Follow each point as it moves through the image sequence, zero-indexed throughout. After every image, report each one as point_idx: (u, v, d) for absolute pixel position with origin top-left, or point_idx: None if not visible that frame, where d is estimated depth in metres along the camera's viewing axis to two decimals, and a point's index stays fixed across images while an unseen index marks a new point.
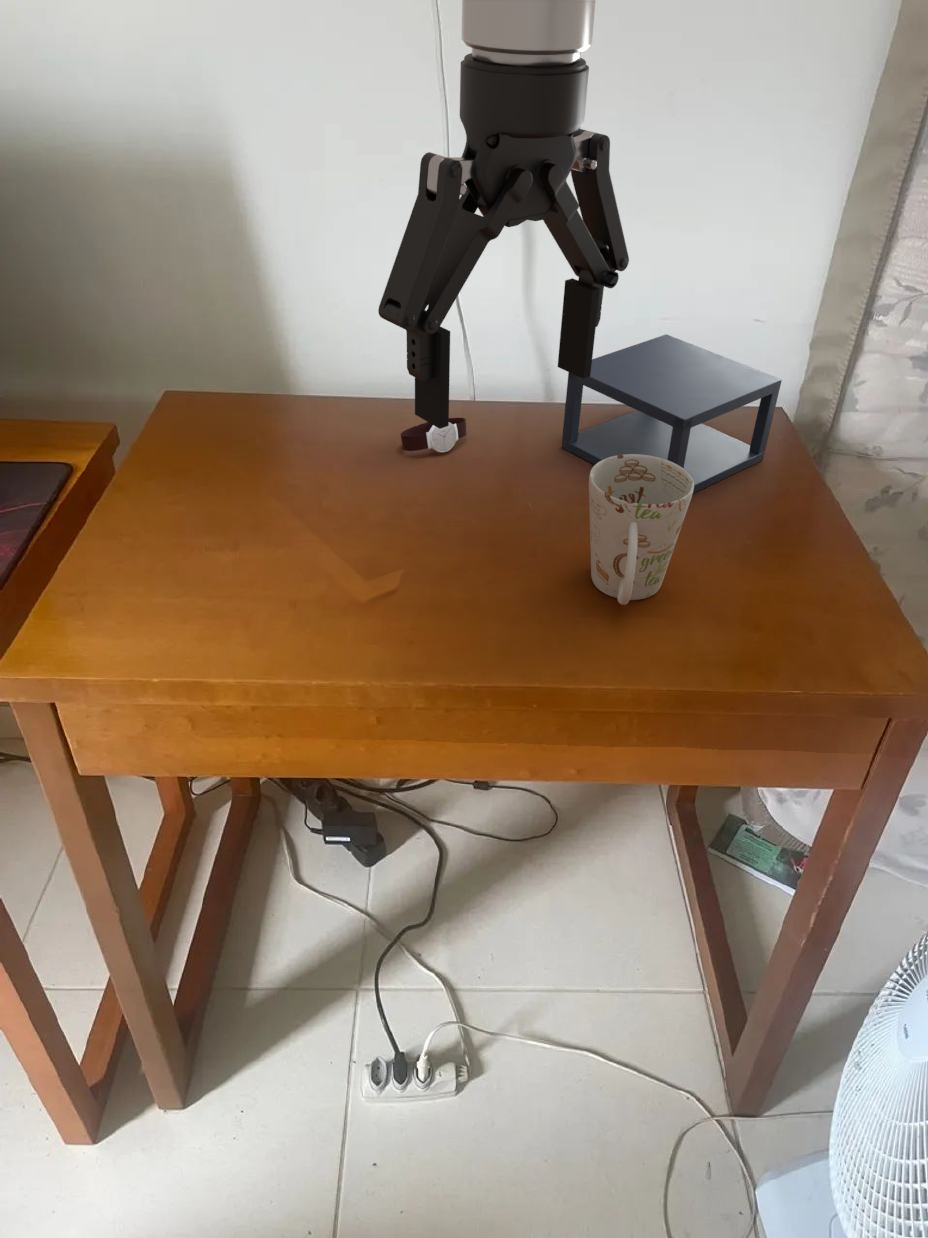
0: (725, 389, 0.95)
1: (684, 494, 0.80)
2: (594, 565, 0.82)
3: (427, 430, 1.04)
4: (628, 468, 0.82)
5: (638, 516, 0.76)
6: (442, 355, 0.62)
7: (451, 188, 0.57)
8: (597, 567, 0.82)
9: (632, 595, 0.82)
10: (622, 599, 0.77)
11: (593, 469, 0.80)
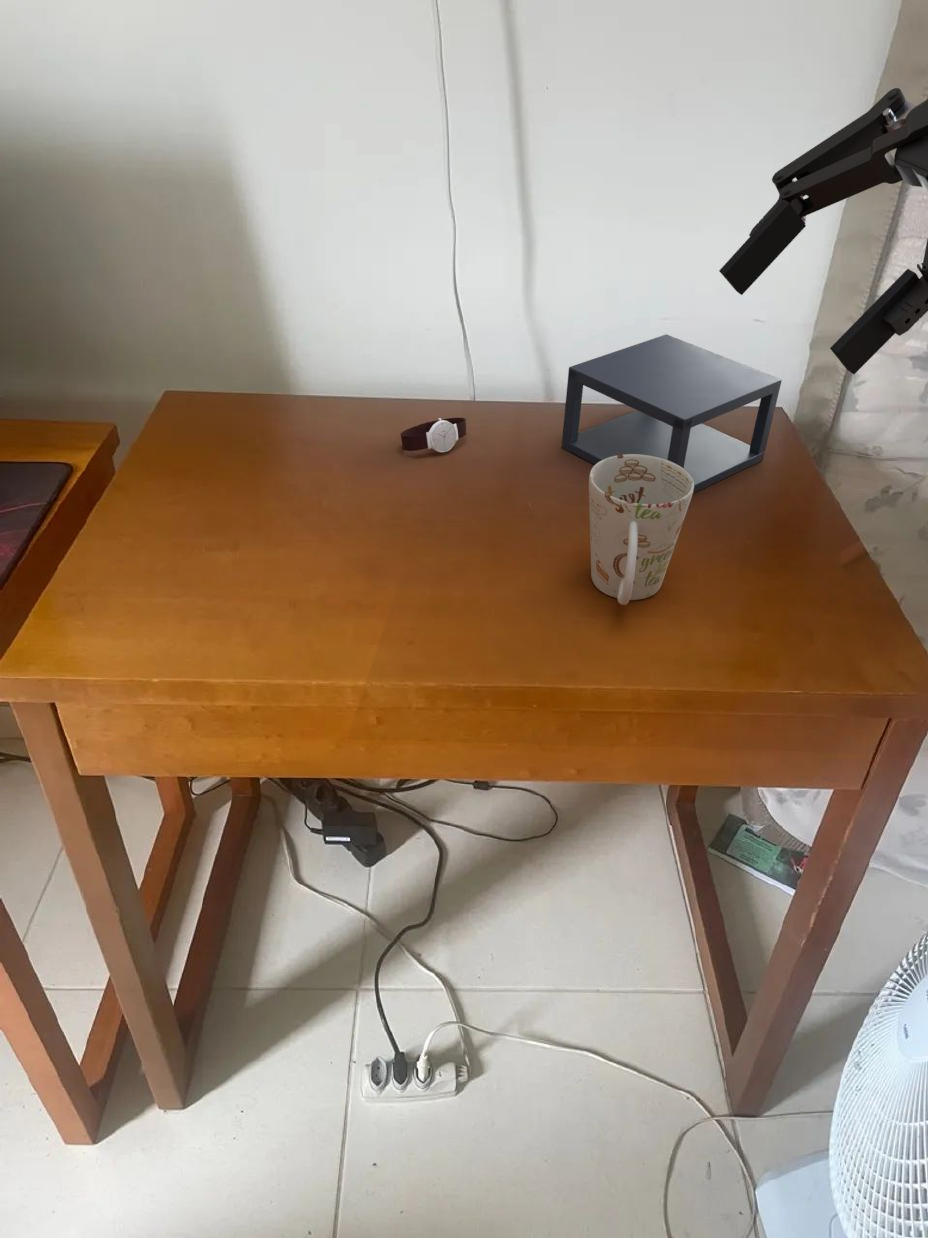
0: (725, 389, 0.95)
1: (684, 494, 0.80)
2: (594, 565, 0.82)
3: (427, 430, 1.04)
4: (628, 468, 0.82)
5: (638, 516, 0.76)
6: (770, 217, 0.72)
7: (880, 105, 0.69)
8: (597, 567, 0.82)
9: (632, 595, 0.82)
10: (622, 599, 0.77)
11: (593, 469, 0.80)
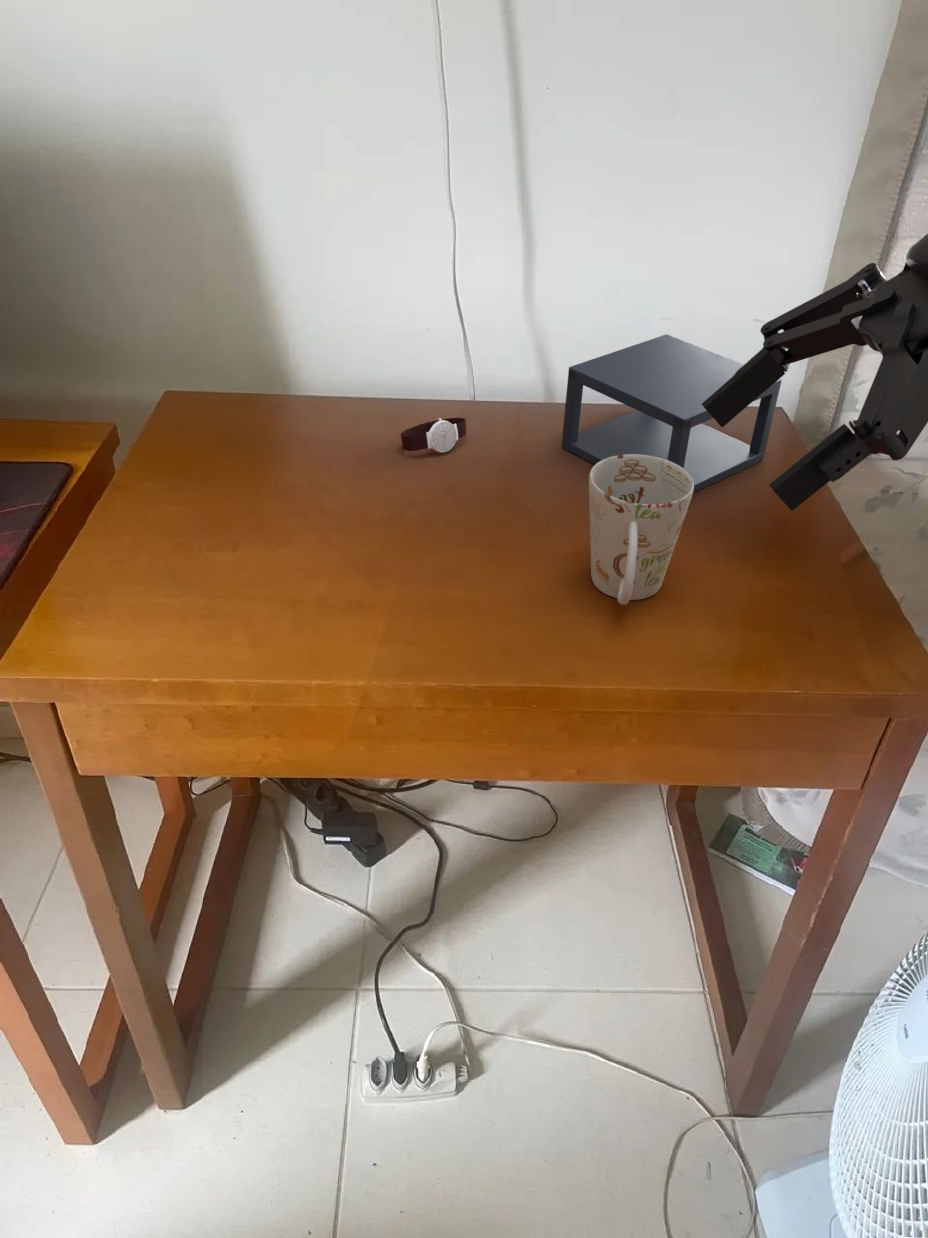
0: None
1: (684, 494, 0.80)
2: (594, 565, 0.82)
3: (427, 430, 1.04)
4: (628, 468, 0.82)
5: (638, 516, 0.76)
6: (751, 362, 0.80)
7: (857, 276, 0.76)
8: (597, 567, 0.82)
9: (632, 595, 0.82)
10: (622, 599, 0.77)
11: (593, 469, 0.80)
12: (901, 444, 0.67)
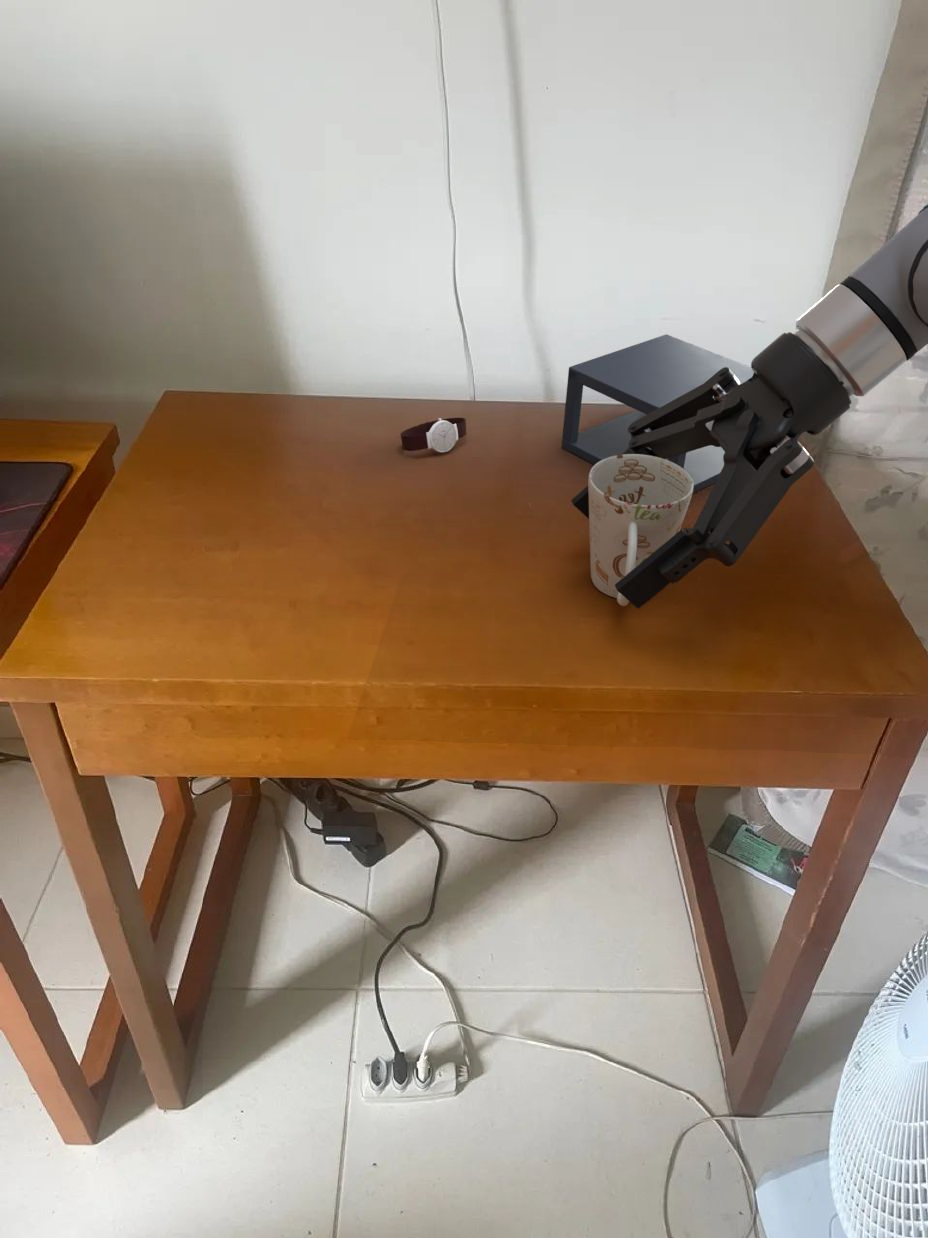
0: None
1: (684, 494, 0.80)
2: (594, 565, 0.82)
3: (427, 430, 1.04)
4: (628, 468, 0.82)
5: (638, 517, 0.76)
6: None
7: (712, 380, 0.79)
8: (597, 567, 0.82)
9: None
10: (622, 600, 0.77)
11: (592, 469, 0.80)
12: (730, 553, 0.70)
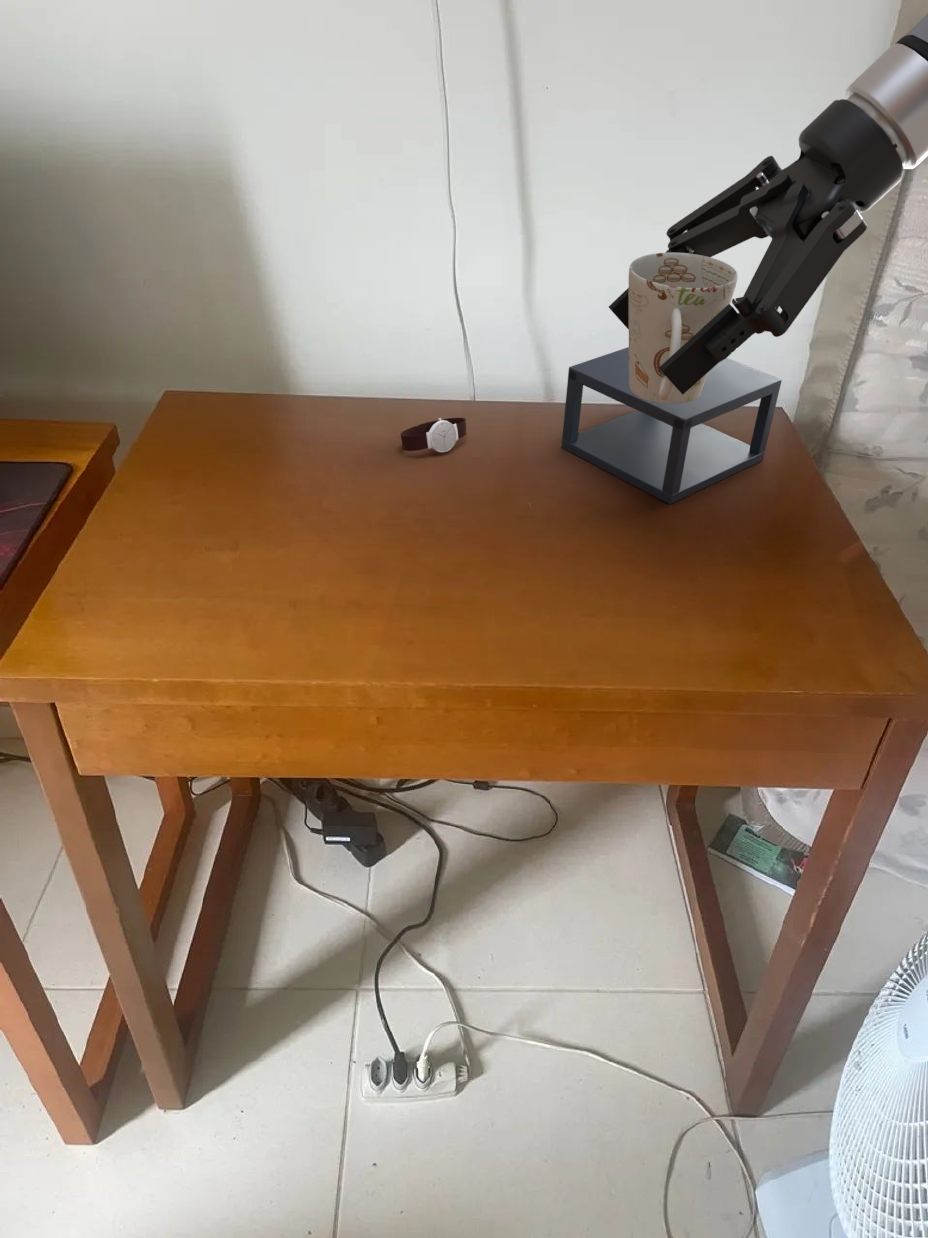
0: (725, 389, 0.95)
1: None
2: (633, 369, 0.80)
3: (427, 430, 1.04)
4: (667, 268, 0.80)
5: (681, 302, 0.74)
6: None
7: (756, 170, 0.77)
8: (636, 370, 0.80)
9: (672, 398, 0.80)
10: (665, 389, 0.74)
11: (633, 263, 0.77)
12: (781, 320, 0.68)
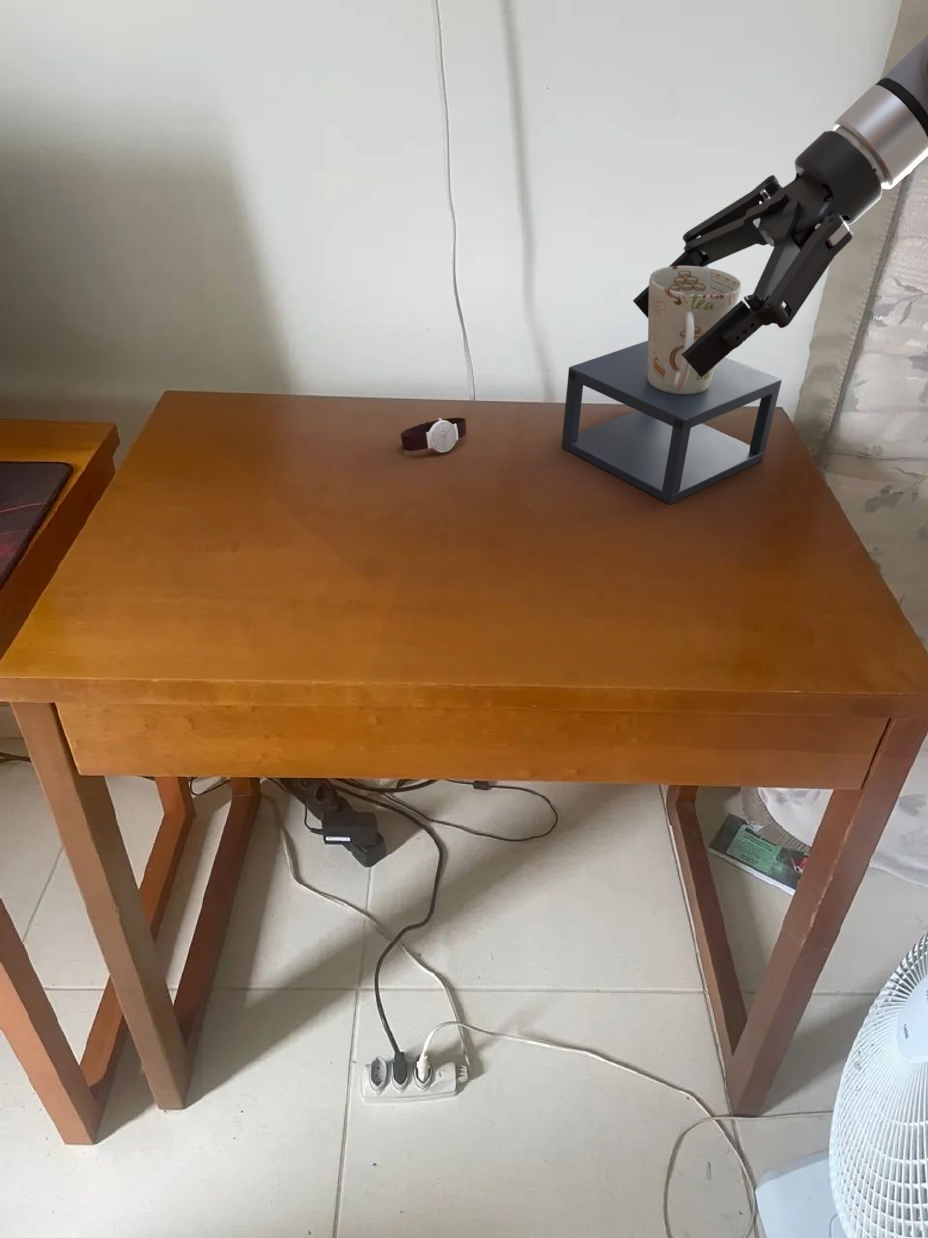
0: (725, 389, 0.95)
1: None
2: (651, 364, 0.94)
3: (427, 430, 1.04)
4: (681, 279, 0.94)
5: (694, 307, 0.88)
6: (673, 263, 0.94)
7: (759, 186, 0.91)
8: (654, 365, 0.94)
9: (685, 389, 0.94)
10: (680, 380, 0.88)
11: (652, 274, 0.91)
12: (785, 313, 0.81)
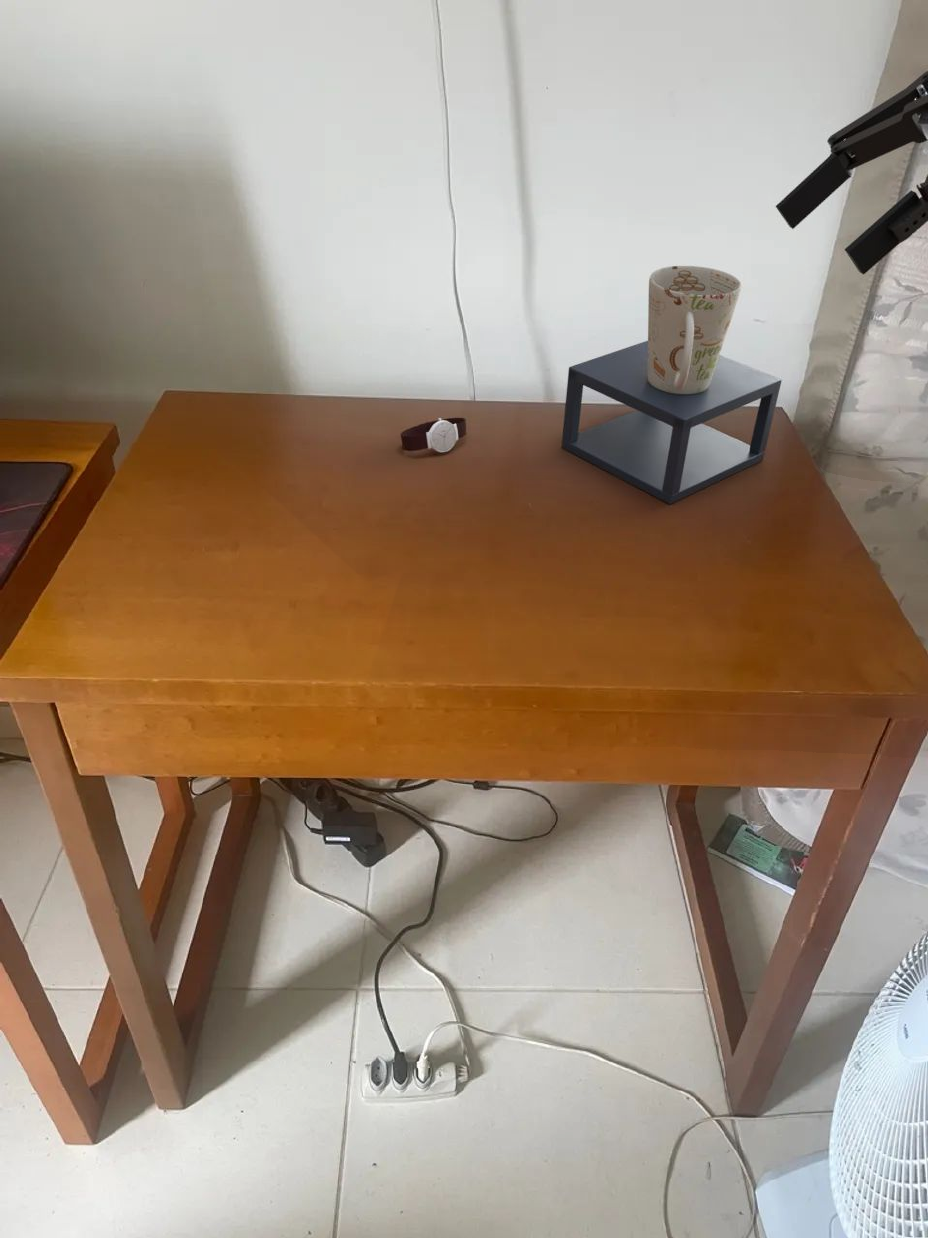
0: (725, 389, 0.95)
1: None
2: (651, 364, 0.94)
3: (427, 430, 1.04)
4: (681, 279, 0.94)
5: (694, 307, 0.88)
6: (820, 166, 0.91)
7: (915, 83, 0.88)
8: (654, 365, 0.94)
9: (685, 389, 0.94)
10: (680, 380, 0.88)
11: (652, 274, 0.91)
12: None
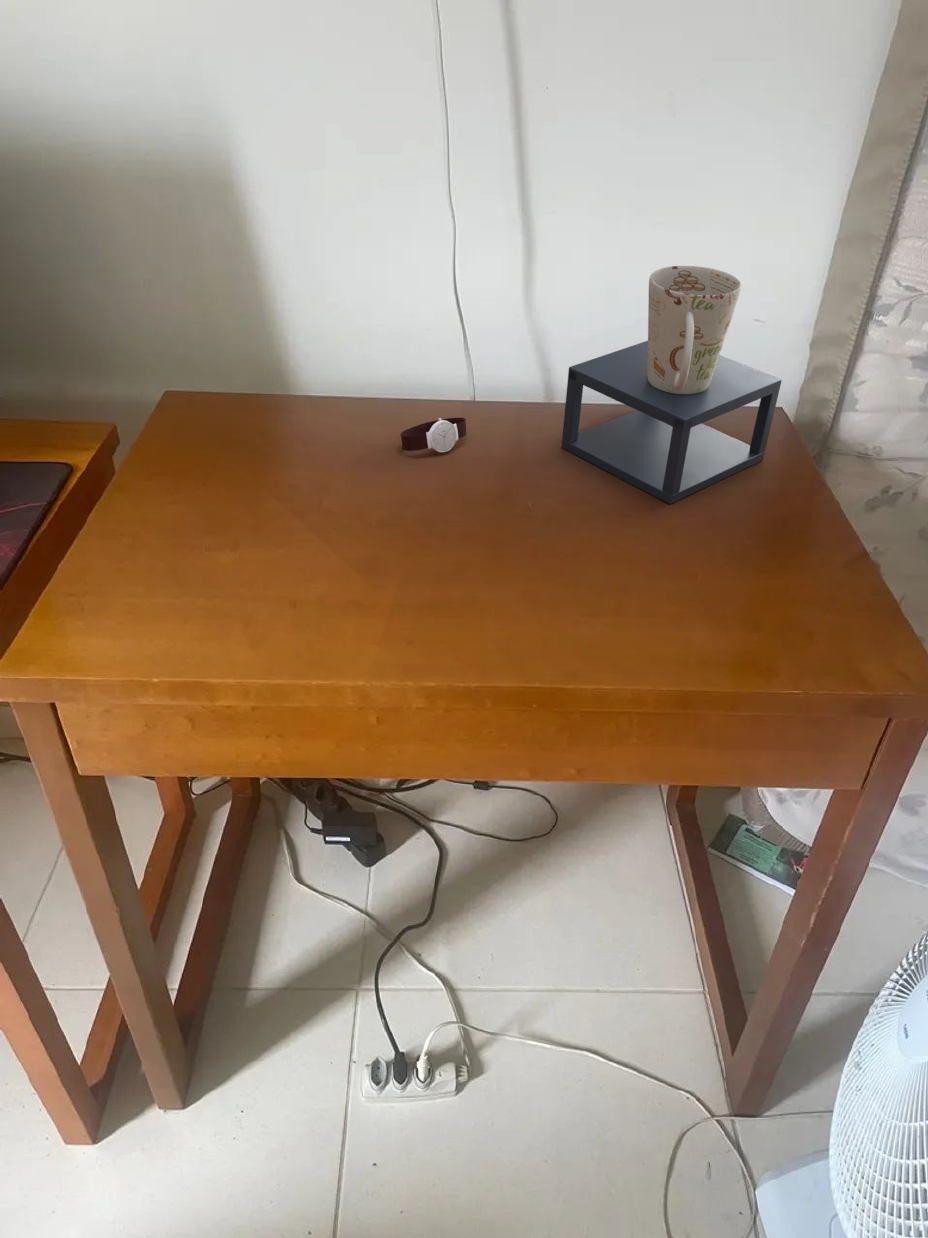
0: (725, 389, 0.95)
1: None
2: (651, 364, 0.94)
3: (427, 430, 1.04)
4: (681, 279, 0.94)
5: (694, 307, 0.88)
6: None
7: None
8: (654, 365, 0.94)
9: (685, 389, 0.94)
10: (680, 380, 0.88)
11: (652, 274, 0.91)
12: None
